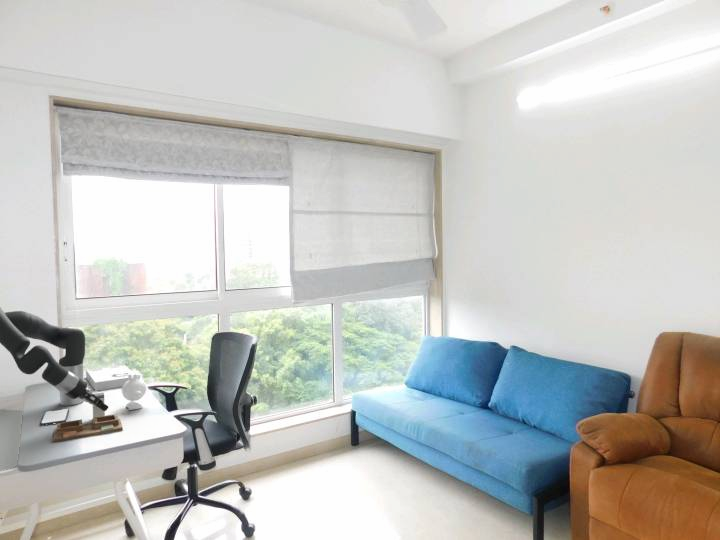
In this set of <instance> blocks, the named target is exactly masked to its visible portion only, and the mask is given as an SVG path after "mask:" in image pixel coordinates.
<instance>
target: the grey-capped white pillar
mask: <svg viewBox="0 0 720 540" xmlns="http://www.w3.org/2000/svg"><path fill="white" fill-rule="evenodd" d="M93 394H94V395H96V396H97V397H98V398H99V399H100V400H102V401H103V403H104V404H105V392H97V393H96V392H95V393H93ZM97 403H98V402H97ZM97 403H96V404H97ZM105 412H106V411H103V410H102V409H100V408H99V407H96V406H95V405H94V404H93V405H92V420H93V421H94V417H100V416H106V414H105ZM93 421H92V422H93Z"/></svg>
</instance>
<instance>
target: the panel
mask: <svg viewBox="0 0 720 540" xmlns="http://www.w3.org/2000/svg"><path fill="white" fill-rule="evenodd" d="M119 431H120V432H121V431H123V425H122V421H121V418H119V417H118V414H117V413H115V414H106V415H105V416H100V417H94V422H90V423H89V422H88V423H83V419H82V418H81V419H77V420H76V419H75V420H70V421H66V422H62V423H57V424H56V428H54V429H53V437H52V440H53V443H57V442H63V441H70V440H74V439H75V440H76V439H80V438H86V437H92V435H93V436H97V435H103V434H108V433H109V432H110V433H115V432H119ZM110 433H109V434H110Z"/></svg>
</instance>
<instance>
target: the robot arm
mask: <svg viewBox="0 0 720 540" xmlns="http://www.w3.org/2000/svg"><path fill="white" fill-rule="evenodd" d="M29 338H30V339H33V340H40V341H43V342H44V343H45V342H46V343H48V344H50V345H52V346H53V347H57V348H59V349H61V350H65V354H64V356H63V357H61V358H59V360H58V361H57V360H56V359H55V358H54V356H53V355H52V353H51V352H50V351H49V350H48V348H47V347H45V346H44V345H39V344H38V345H34V346H32V348H30V345H31V341H30V339H29ZM0 345H1V346H2V347H4V348H5V349H6V350H7V351H8V352H9V353H10V355H11V356H12V358H13V360H14V362H15V364H16V366H17V368H18V369H19V370H20V372H22V373H23V374H26V375H34V374H35V373H37V371H39V369H41V368H42V367H43V366H44V365H45V364H46V363H47V366H46V367H45V369H43V372H42V373H41V378H42V379H43V380H44V381H46V382H47V383H48V384H50V385H51V386H53V387H54V388H55V389H56V390H57V391H59V404H60V406H67V407H68V406H75V405H79V404H82V403H84V402H85V403H88V404H90V405H92V406H93V404H94V405H95V406H96V407H99V408H100V409H102V410H103V411H105V412H106V411H107V410H108V409H109V406H108V405H107V404H105V402H104V403H103V401H102V400H100V399H99V398H98V397H97V396H96V395H94V394H95V393H93V392H92V391H91V390H89V389H87V388H88V383H87V382H86V381H85V380H84V379H85V378H84V358H85V355H86V336H85V333H84V331H83V330H81V329H79V328H71V327H62V326H56V325H52V324H50V323H48V322H47V321H45V319H43V318H41V317H40V316H39V315H38V316H37V315H35V314H32V313H30V312H27V311H22V310H16V311H15V310H14V311H8V312H7V311H6V312H5V311H4V310H3V309H2V307H0ZM29 348H30V349H29ZM28 349H29V350H28ZM26 351H28V352H26ZM97 402H98V403H97ZM96 403H97V404H96Z"/></svg>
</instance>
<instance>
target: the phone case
mask: <svg viewBox="0 0 720 540" xmlns="http://www.w3.org/2000/svg"><path fill="white" fill-rule="evenodd" d="M69 414H70V409H69V408H61V409H55V410H48V411H45V412H44V413H43V416H42V418H41V421H40V423H39V424H40V425H46V424H53V423H62V422H67V421H66V420H68V418H69ZM53 425H54V424H53ZM46 426H47V425H46Z"/></svg>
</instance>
